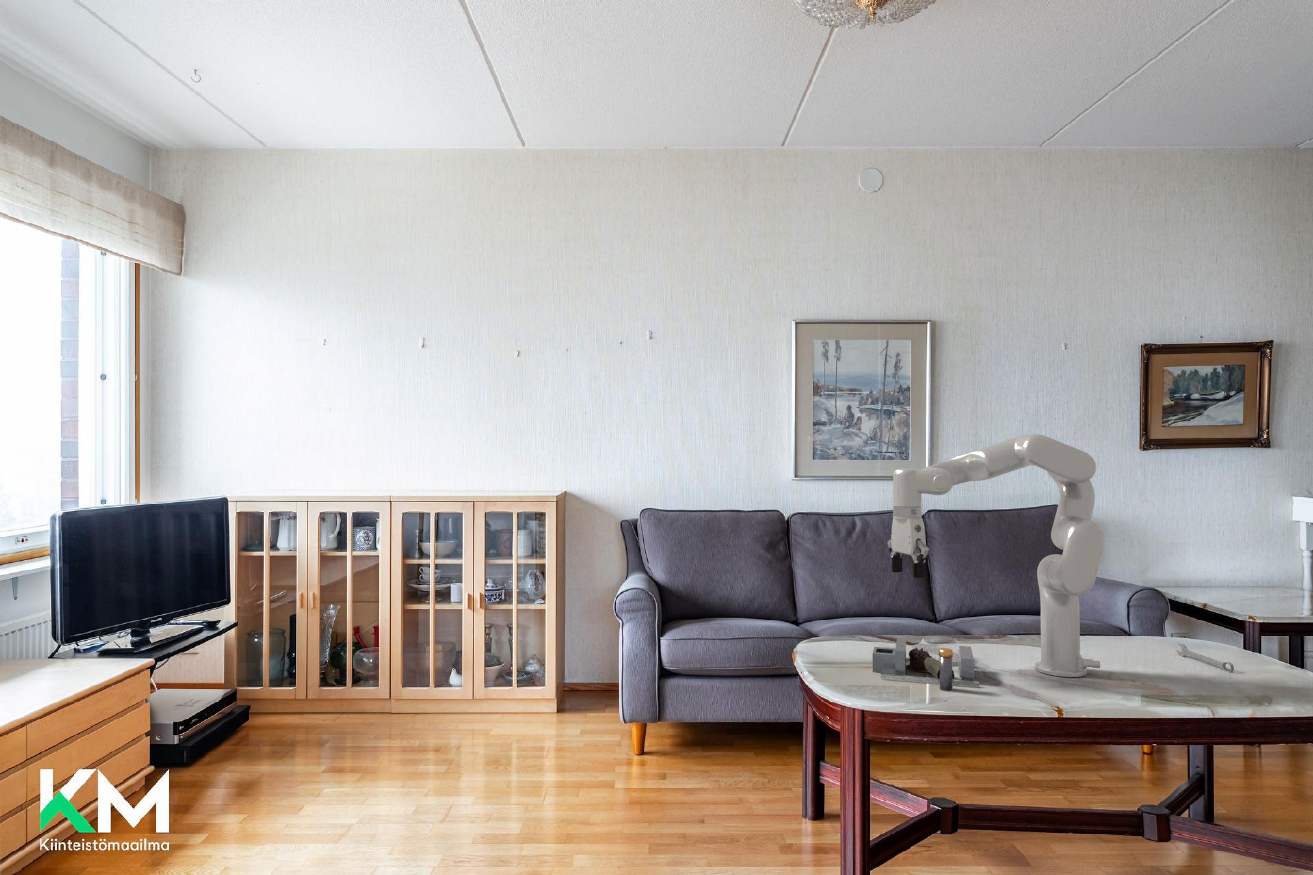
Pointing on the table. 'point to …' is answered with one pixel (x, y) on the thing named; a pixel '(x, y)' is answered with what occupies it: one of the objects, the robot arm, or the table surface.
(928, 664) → the brown wood log
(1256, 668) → the table surface
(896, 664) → the tailstock
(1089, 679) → the table surface
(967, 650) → the block
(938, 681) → the grey flat plate
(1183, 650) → the combination wrench
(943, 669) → the grey cylinder orange cap
